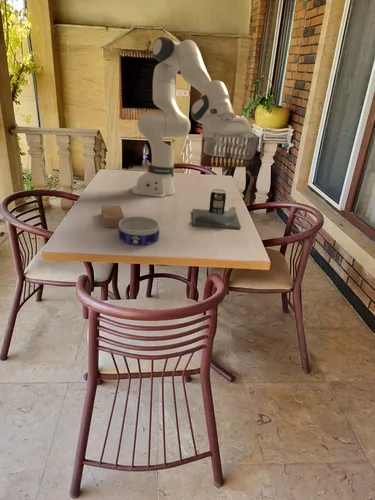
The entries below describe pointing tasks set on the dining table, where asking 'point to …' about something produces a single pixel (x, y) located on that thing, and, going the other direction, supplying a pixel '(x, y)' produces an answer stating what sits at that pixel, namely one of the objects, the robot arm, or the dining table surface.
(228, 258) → the dining table surface
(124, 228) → the dog bowl
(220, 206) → the beverage can
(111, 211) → the brick
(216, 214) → the v block
